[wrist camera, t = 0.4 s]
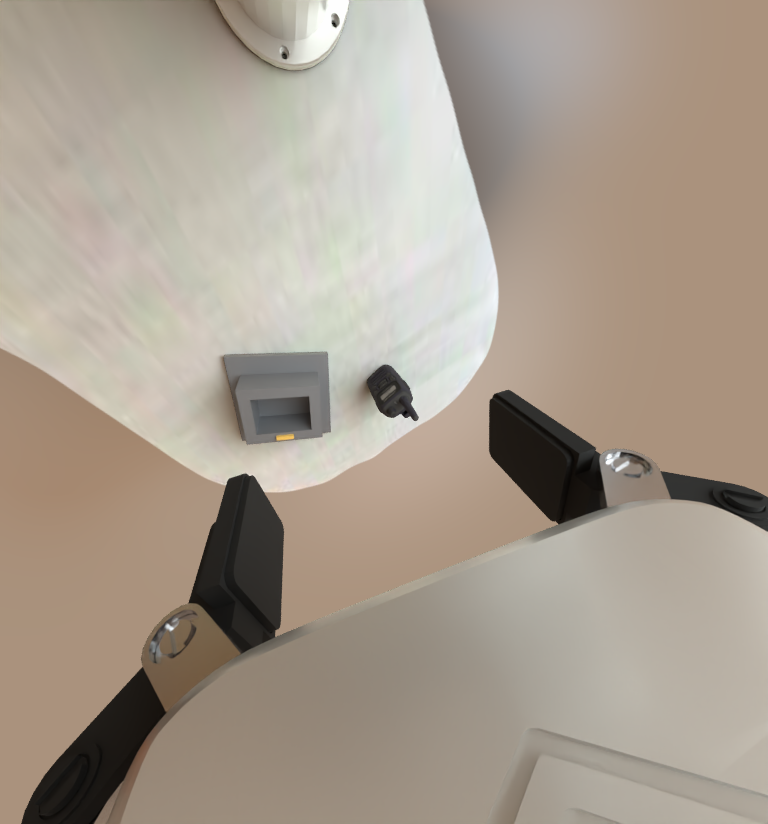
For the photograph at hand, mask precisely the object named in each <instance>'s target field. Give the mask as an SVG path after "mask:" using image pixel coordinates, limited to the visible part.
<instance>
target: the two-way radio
mask: <svg viewBox="0 0 768 824" xmlns="http://www.w3.org/2000/svg"><path fill="white" fill-rule="evenodd" d="M367 383H368V387H369V389H370V392H371V394H372V396H373V398H374V400H375V402H376V405H377V407H378V409H379V411H380V412H381V413H383V414H384V415H386V416H387V417H391V418H394V417H396V416H398V415H399V414H402V415H403V416H404V417H405V418H408V417H409V416H411V418H412V419H413V420H414V421H417V420H418V418H419V417H418V415H417V414H416V412H415V410H414V408H413V407H412V405H411V402H412V400H413V397H412V394H411V391H410V388H409V386H408V385H407V383H406V382H405V381H404V380H402V378H401V377H400V376H399V374H398V373H397V372H396V371H395V370H394V369H393V368H392V367H391V366H389V365H383V366H382V367H381V368H379V369H378V370H377V371H376V372H375V373H374V374H373V375H372V376H370V378H369V379H368V382H367Z"/></svg>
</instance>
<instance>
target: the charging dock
mask: <svg viewBox="0 0 768 824" xmlns="http://www.w3.org/2000/svg"><path fill="white" fill-rule="evenodd" d="M223 358H224V362H225V366H226V371H227V375H228V379H229V384H230V388H231V393H232V397H233V401H234V406H235V410H236V415H237V419H238V423H239V428H240V432H241V437H242V441H244V440H246V442H247V445H248V444H258V443H268V442H278V441H288V440H297V439H307V438H317V437H322V433H326V432H331V426H330V399H329V372H328V353H327V352H303V353H267V354H230V355H224V357H223Z"/></svg>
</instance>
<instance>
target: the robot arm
mask: <svg viewBox="0 0 768 824" xmlns="http://www.w3.org/2000/svg"><path fill="white" fill-rule="evenodd" d="M349 1H350V0H215V2H216V4H217V6H218V8H219V9H220V11H221V13H222V15H223V17H224V18H225V20H226V21H227V23H228V24H229V26H230V27H231V28H232V30H233V31H234V33H235V34H236V35H237V36H238V37H239V39H240V40H241V41H242V42H243V43H244V44H245V45H246V46H247V47H248V48H249V49H250V50H251V51H252V52H254V53H255V54H256V55H257V56H259V57H260V58H261V59H263V60H265V61H266V62H268V63H270V64H272V65H274V66H276V67H280V68H283V69H287V70H303V69H307V68H310V67H313V66H315V65H316V64H318V63H320V62H321V61H323V60H324V59H325V58H326V57H327V56H328V55H329V53H330V52H331V51H332V50H333V48H334V47H335V45H336V43H337V42H338V40H339V38H340V36H341V33H342V30H343V27H344V24H345V21H346V17H347V13H348V9H349ZM332 22H334V23H335V24H336V28H335V27H333V26H332V24H331V23H332ZM282 54H286V55H287V59H283V58H282ZM489 411H490V412H489V417H490V418H489V421H490V422H489V452H490V455H491V457H492V458H493V459H494V461H495V462H496V463H497V464H498V465H499V466H500V467H501V468H502V469H503V470H504V471H505V472H506V473H507V474H508V475H509V477H511V479H512V480H513V481H514V482H515V483H516V484H517V485H518V486H519V487H520V488H521V489H522V490H523V492H524V493H525V494H526V495H527V496H528V497H529V498H530V499H531V500H532V501H533V502H534V503H535V504H536V506H537V507H538V508H539V509H540V510H541V511H542V512H543V513H544V514H545V515H546V516H547V517H548V518H549V519H550V520H551V521H556V522H557V523H558V524H559V525H556V526H554V527H551V528H548V529H546V530H543V531H541V532H538V533H536V534H533V535H531V536H528V537H525V538H522V539H520V540H517V541H515V542H512V543H510V544H507V545H504V546H502V547H499V548H497V549H494V550H492V551H489V552H486V553H484V554H481V555H479V556H476V557H474V558H471V559H468V560H466V561H463V562H461V563H458V564H456V565H453V566H451V567H448V568H446V569H443V570H441V571H438V572H436V573H433V574H430V575H428V576H425V577H423V578H420V579H418V580H415V581H412V582H410V583H408V584H405V585H402V586H400V587H397V588H395V589H393V590H390V591H387V592H385V593H382V594H380V595H377V596H375V597H372V598H370V599H367V600H365V601H362V602H360V603H357V604H355V605H352V606H350V607H347V608H345V609H342V610H340V611H337V612H335V613H332V614H330V615H327V616H325V617H322V618H320V619H318V620H315V621H313V622H311V623H308V624H306V625H303V626H301V627H298V628H296V629H294V630H291V631H289V632H286V633H284V634H282V635H280V636H277V637H275V630H277V629H279V628H280V622H281V598H282V569H283V541H284V540H283V539H284V529H283V524H282V522H281V520H280V519H279V517H278V515H277V514H276V512H275V510H274V508H273V507H272V505H271V504H270V502H269V500H268V498H267V497H266V495H265V493H264V492H263V490H262V488H261V487H260V485H259V483H258V482H257V480H256V478H255V477H254V476H249V475H248V474H242V475H239V476H236V477H233V478H230V479H228V481H227V485H226V488H225V492H224V495H223V499H222V502H221V506H220V510H219V514H218V517H217V520H216V522H215V523H214V524H213V525H212V527H211V529H210V532H209V535H208V539H207V542H206V546H205V549H204V553H203V556H202V559H201V563H200V566H199V569H198V573H197V576H196V580H195V583H194V586H193V590H192V593H191V597H190V600H189V603H188V604H186V605H182V606H180V607H179V608H176V609H175V610H173V611H172V612H170V613H169V614H168V615H167V616H165V617H164V618H163V619H162V620H161V621H160V622H159V624H157V626H156V627H155V628H154V629H153V631H152V633H151V634H150V635H149V637H148V638H147V641H146V643H145V645H144V647H143V651H142V657H141V661H142V666H143V667H142V668H141V669H140V670H139V671H138V672H137V674H136V675H135V676H134V677H133V678H132V679H131V680H130V681H129V682H128V683H127V685H126V686H125V687H124V688H123V689H122V690H121V691H120V692H119V693H118V694H117V695H116V696H115V698H114V699H113V700H112V701H111V702H110V703H109V704H108V705H107V706H106V707H105V708H104V709H103V711H102V712H101V713H100V714H99V715H98V716H97V717H96V718H95V719H94V720H93V722H92V723H91V724H90V725H89V726H88V727H87V728H86V729H85V730H84V731H83V732H82V733H81V734H80V736H79V737H78V738H77V739H76V740H75V741H74V742H73V743H72V745H70V747H69V748H68V749H67V750H66V751H65V752H64V753H63V754H62V755H61V756H60V757H59V759H58V760H57V761H56V762H55V763H54V764H53V766H52V767H51V768H50V769H49V771H48V772H47V773H46V774H45V776H44V777H43V779H42V780H41V782H40V784H39V785H38V787H37V788H36V790H35V791H34V793H33V795H32V797H31V799H30V801H29V804H28V806H27V808H26V810H25V813H24V816H23V819H22V823H21V824H768V497H766V496H764V495H763V494H761V493H759V492H757V491H754V490H752V489H749V488H746V487H743V486H739V485H735V484H731V483H725V482H719V481H714V480H708V479H702V478H697V477H690V476H685V475H679V474H674V473H668V472H662V471H660V469H659V467H658V466H657V464H656V463H655V462H654V461H653V460H652V459H650V458H649V457H647V456H645V455H643V454H641V453H638V452H635V451H632V450H627V449H611V450H607V451H605V452H603V453H602V454H599V453H598V452H596V451H595V450H596V448H595V447H594V446H592V445H591V444H589V443H588V442H586V441H585V440H583V439H582V438H580V437H579V436H577V435H576V434H575V433H573V432H572V431H570V430H569V429H567V428H565V427H564V426H562V425H561V424H559V423H558V422H557V421H555V420H554V419H552V418H551V417H549V416H548V415H546V414H545V413H543V412H542V411H540V410H539V409H537V408H536V407H534V406H533V405H531V404H530V403H528V402H527V401H525V400H524V399H522V398H521V397H519V396H518V395H516V394H515V393H513V392H512V391H510V390H506V391H502V392H499V393H496V394H494V395H493V398H492V399H491V400H490V410H489Z"/></svg>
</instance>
